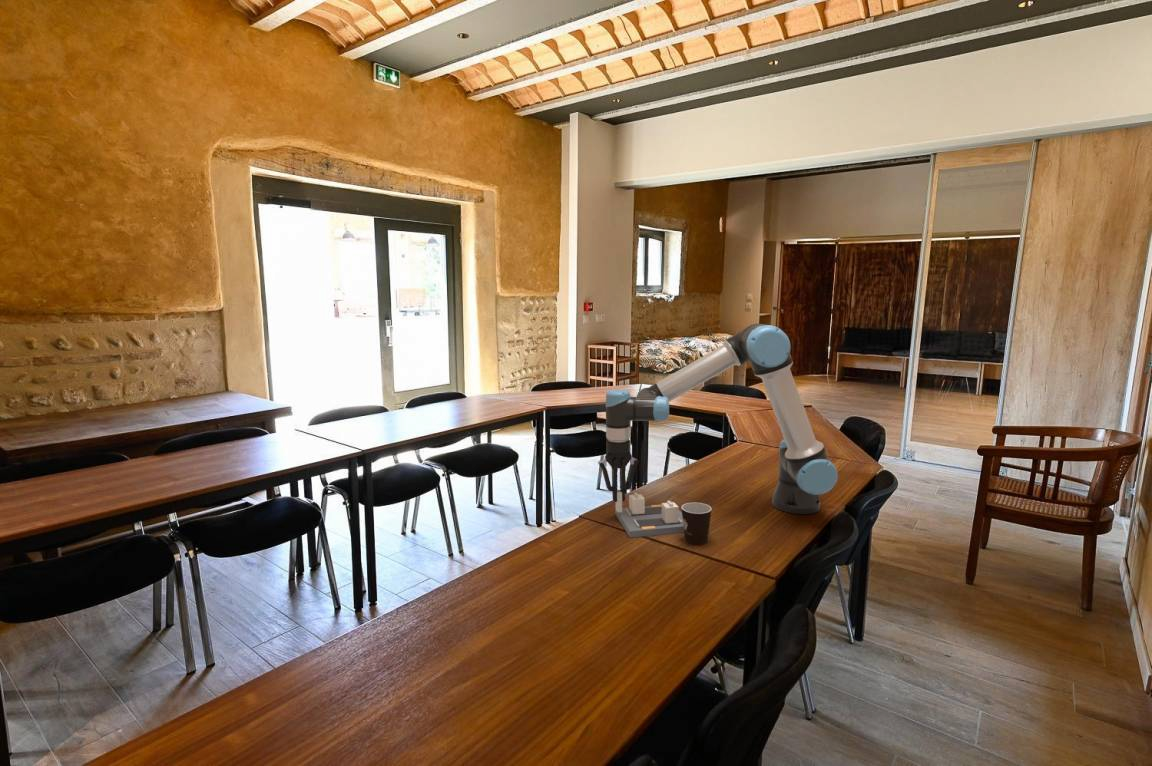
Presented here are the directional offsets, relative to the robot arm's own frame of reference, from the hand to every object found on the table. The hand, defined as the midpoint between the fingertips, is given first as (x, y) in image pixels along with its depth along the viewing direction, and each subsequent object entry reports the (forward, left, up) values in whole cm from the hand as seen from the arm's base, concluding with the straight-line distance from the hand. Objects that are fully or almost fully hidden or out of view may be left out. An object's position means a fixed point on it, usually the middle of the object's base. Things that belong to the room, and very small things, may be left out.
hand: (618, 510), depth 181 cm
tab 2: (-14, +9, -1) cm, 17 cm away
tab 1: (-6, 0, -1) cm, 6 cm away
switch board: (-10, +4, -3) cm, 11 cm away
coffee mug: (-19, +18, -3) cm, 26 cm away
